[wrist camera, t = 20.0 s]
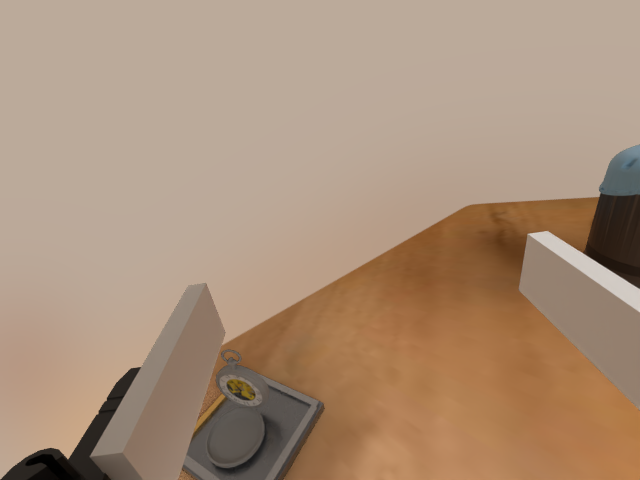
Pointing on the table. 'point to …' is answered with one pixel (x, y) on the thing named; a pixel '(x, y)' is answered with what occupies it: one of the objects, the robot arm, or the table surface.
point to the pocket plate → (278, 442)
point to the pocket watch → (237, 416)
